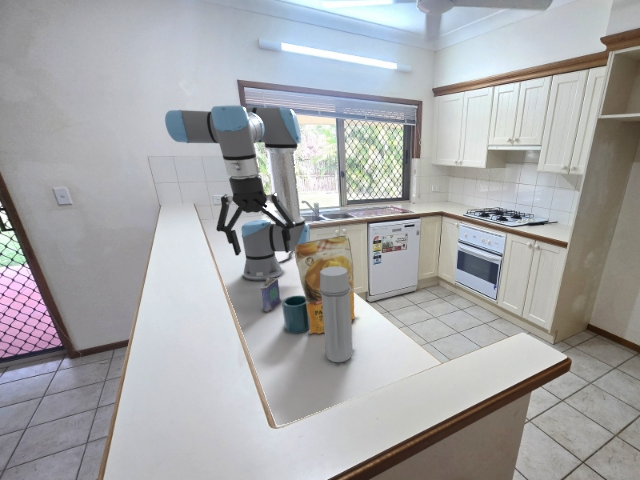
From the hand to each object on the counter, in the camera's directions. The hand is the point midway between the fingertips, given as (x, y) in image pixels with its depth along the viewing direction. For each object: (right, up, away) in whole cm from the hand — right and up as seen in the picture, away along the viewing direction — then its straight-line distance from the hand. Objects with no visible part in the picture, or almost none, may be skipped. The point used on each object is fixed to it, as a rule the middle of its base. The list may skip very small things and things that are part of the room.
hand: (263, 252), depth 93 cm
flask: (-6, -17, +23) cm, 29 cm away
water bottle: (+22, -29, -4) cm, 37 cm away
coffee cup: (+7, -22, +10) cm, 26 cm away
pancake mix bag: (+17, -22, +12) cm, 30 cm away
